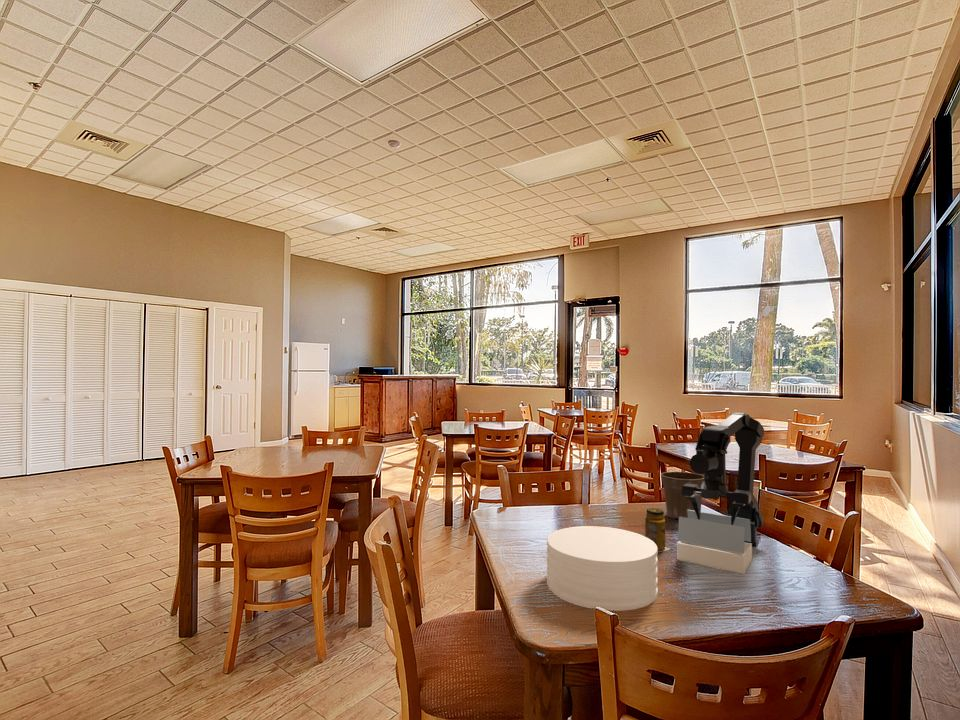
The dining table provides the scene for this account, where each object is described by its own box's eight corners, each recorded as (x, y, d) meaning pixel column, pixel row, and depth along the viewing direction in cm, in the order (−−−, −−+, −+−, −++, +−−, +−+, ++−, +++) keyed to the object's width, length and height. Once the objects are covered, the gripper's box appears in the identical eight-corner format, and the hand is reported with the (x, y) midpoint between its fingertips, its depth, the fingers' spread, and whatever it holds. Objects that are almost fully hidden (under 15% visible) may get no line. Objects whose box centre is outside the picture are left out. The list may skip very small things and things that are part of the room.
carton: (688, 547, 162) (688, 532, 162) (751, 560, 151) (751, 543, 151) (677, 559, 151) (677, 542, 151) (744, 574, 141) (744, 556, 141)
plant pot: (652, 512, 204) (652, 471, 204) (689, 510, 207) (689, 470, 207) (675, 523, 188) (675, 480, 188) (714, 521, 191) (714, 478, 191)
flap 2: (743, 553, 141) (743, 553, 141) (678, 540, 152) (677, 540, 151) (744, 527, 143) (744, 527, 142) (679, 516, 153) (679, 516, 153)
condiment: (671, 549, 161) (671, 511, 161) (654, 554, 156) (653, 515, 156) (652, 542, 167) (651, 506, 167) (634, 547, 162) (634, 509, 163)
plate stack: (682, 595, 127) (681, 549, 128) (597, 621, 114) (597, 570, 114) (603, 559, 152) (603, 521, 152) (526, 577, 138) (526, 535, 138)
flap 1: (688, 530, 161) (688, 530, 162) (750, 542, 151) (751, 541, 151) (687, 510, 160) (687, 509, 161) (749, 519, 150) (750, 519, 150)
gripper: (675, 470, 152) (675, 522, 152) (745, 478, 141) (745, 534, 141) (685, 465, 161) (685, 514, 161) (751, 472, 150) (751, 525, 150)
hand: (715, 522), depth 153 cm, fingers open, 9 cm apart
